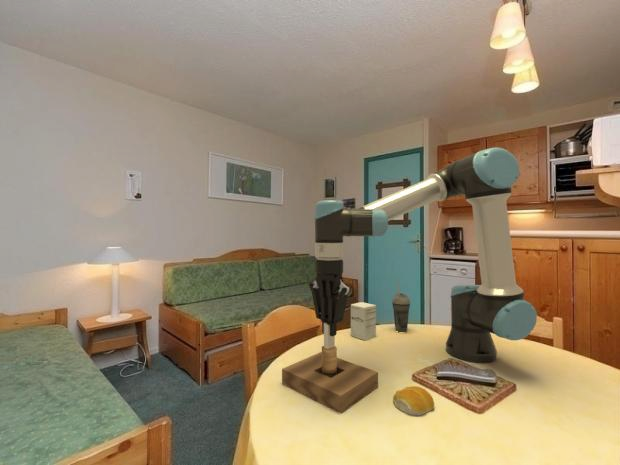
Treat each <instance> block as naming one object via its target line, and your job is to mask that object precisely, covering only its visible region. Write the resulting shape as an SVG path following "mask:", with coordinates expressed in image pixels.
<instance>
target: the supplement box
mask: <svg viewBox="0 0 620 465" xmlns="http://www.w3.org/2000/svg"><path fill="white" fill-rule="evenodd" d="M375 336H377V304H372V303H367V302H363V301H360V302H356V303H351V304H350V337H353V338H357V339H359V340H363V341H368V340H370V338H371V339H373V338H375ZM367 339H368V340H367Z"/></svg>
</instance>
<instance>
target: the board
mask: <svg viewBox="0 0 620 465" xmlns="http://www.w3.org/2000/svg"><path fill="white" fill-rule="evenodd" d="M321 369H322V351H319V352H318V353H315V354H313V355H311V356H309V357H306V358H303V359H301V360H299V361H297V362H294V363H292V364H290V365H288V366H285V367H283V368H282V369H281V384H282V385H284V386H286V387H288V388H290V389H292V390H293V391H296V392H298V393H300V394H302V395H304V396H306V397H308V398H310V399H312V400H314V401H315V402H317V403H319V404H322V405H323V406H325V407H327V408H330V409H331V410H332V411H335V412H337V413H339V414H342V413H344V412H346V411H347V410H348V409H350V408H351V407H352V406H354V405H355V404H357V403H358V402H360V401H361V400H363V398H366V396H368V395H369V394H371V393H372V392H374V391H375V390H377V389H379V372H378V371H376V370H373V369H370V368H368V367H365V366H362V365H359V364H356V363H353V362H350V361H349V360H345V359H343V358H339V357H337V375H336V376H334V377H332V378H330V377H327V376H325V375H323V374H322V371H321Z"/></svg>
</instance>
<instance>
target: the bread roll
mask: <svg viewBox="0 0 620 465" xmlns="http://www.w3.org/2000/svg"><path fill="white" fill-rule="evenodd" d="M392 401H393V404H394V406H395V407H396V408H397V409H399V411H401V412H402V413H406V414H407V415H410V416H422V415H425V414H426V413H429V412H430V411H433V409H434V408H435V402H434V398H433V396H432V395H431V393H430V392H428V390H426V389H424V388H423V387H421V386H416V385H415V386H406V387H404V388H402V389H400V390H397V391H396V392H395V393H394V394H393V400H392Z"/></svg>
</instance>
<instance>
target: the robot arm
mask: <svg viewBox="0 0 620 465" xmlns="http://www.w3.org/2000/svg"><path fill="white" fill-rule="evenodd" d="M520 171H521V170H520V165H519V162H518V160H517V158H516V157H515V155H514V154H513V153H511V152H509V151H508V150H507V149H505V148H502V147H490V148H486V149H481V150H479V151H478V152H475V153H473V154H470V155H468V156H465V157H463V158H462V157H461V158H459V159H457V160H455V161H454V162H451V163H449V164H448V165H446V166H444V167H443V168H441V169H439V170H437V171H435V172H432V173H430V174H429V175H428V176H427V178H426V179H424V180H421V181H420V182H418V183H417V182H416V183H415V184H412V185H410V186H408V187H404V188H403V189H400V190H398V191H396V192H393V193H392V194H389V195H385V196H384V197H382V198H379V199H376V200H375V201H372V202H370V203H368V204H365V205H362V206H361V207H358V208H345V207H344V202H343V201H341V200H335V199H334V200H331V199H328V200H319V201H318V202H317V203H315V209H314V210H315V212H314V215H315V216H314V239H315V240H314V241H315V243H314V250H315V251H314V256H315V258H316V259H315V260H314V272H315V274H316V277H315V280H314V281H312V282H309V283H308V286H309V290H310V291H311V296H312V301H313V307H314V313H315V318H316V319H317V320H320V321H321V332H322V333H321V334H323V346H324V348H326V349H330V348H332V347H334V346H335V340H336V338H335V336H337V334H338V333H337V331H338V330H337V327H338V326H337V325H338V323H342V322H343V321H344V317H345V312H346V307H347V302H348V297H349V294H350V293H351V291H352V287H351V286H347V285H346V284H345V283H344V278H343V273H344V260H343V259H342V258H343V257H344V237H350V238H351V237H372V238H375V237H383V236H385V234H386V233H387V231H388V227H389V221H391V220H394V219H396V218H398V217H400V216H403V215H405V214H408V213H410V212H413V211H414V210H418V209H419V208H422V207H424V206H426V205H429V204H430V203H433V202H435V201H437V202H443V201H446V200H448V199H451V198H456V197H461V196H465V201H466V202H467V203H469V204H470V205H471V206H472V215H473V223H474V224H473V225H474V229H475V230H474V231H475V232H474V233H475V240H476V246H477V247H476V249H477V257H478V264H479V265H478V266H479V272H480V280H481V284H462V285H461V284H459V285H458V284H457V285H453V286H452V288H451V292H450V293H451V294H450V299H451V300H450V303H451V305H450V306H451V307H450V308H451V309H450V310H451V311H450V312H451V314H450V316H451V317H450V322H451V327H450V331H449V334H448V336H447V339H446V342H445V352H447V353H448V354H449V355H450V356H452V357H453V358H456V359H460V360H463V361H466V362H472V363H473V362H474V363H492V362H494V361H497V358H498V356H497V354H498V353H497V348H496V345H495V342H494V340H493V337H492V334H494V335H495V336H497V337H499V338H502V339H506V340H510V341H521V340H523V339H525V338H526V337H528V336H529V335H530V334H531V332H532V331H534V329H535V327H536V325H537V320H538V314H537V310H536V307H534V305H532V303H531V302H529V301H527V300H525V295H524V289H523V288H522V287H520V286H519V285H518V284H517V281H516V280H517V279H516V274H515V263H514V257H513V255H514V254H513V248H512V247H513V246H512V241H511V240H512V238H511V231H510V222H509V214H508V206H507V204H508V203H507V200H508V199H509V198H510V197H511V195H512V193H513V192H512V186H513V185H514V184H515V183H517V179H518V178H519V177H520V173H521V172H520Z"/></svg>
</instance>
